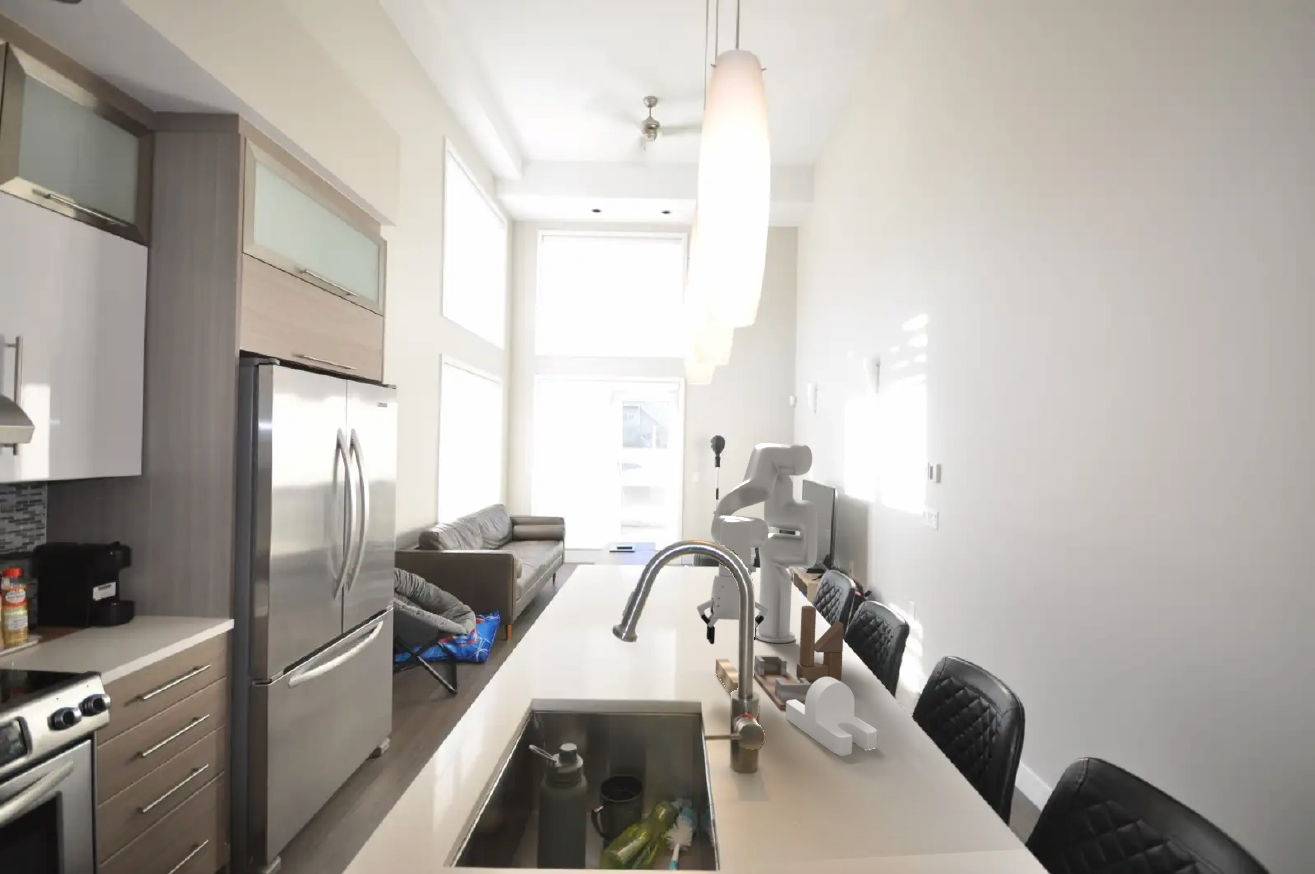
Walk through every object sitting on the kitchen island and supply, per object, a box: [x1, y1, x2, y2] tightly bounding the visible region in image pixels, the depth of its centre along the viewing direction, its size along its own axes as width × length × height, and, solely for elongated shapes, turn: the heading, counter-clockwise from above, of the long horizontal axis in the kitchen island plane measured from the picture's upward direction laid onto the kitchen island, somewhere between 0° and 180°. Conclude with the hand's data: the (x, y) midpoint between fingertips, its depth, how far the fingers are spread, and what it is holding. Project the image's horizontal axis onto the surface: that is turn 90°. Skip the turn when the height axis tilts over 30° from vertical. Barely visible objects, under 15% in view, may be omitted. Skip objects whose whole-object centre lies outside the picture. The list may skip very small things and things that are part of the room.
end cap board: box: [753, 654, 812, 710], centre depth 149 cm, size 24×9×4 cm, turn 8°
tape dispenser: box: [785, 677, 878, 756], centre depth 127 cm, size 10×18×11 cm, turn 23°
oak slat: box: [714, 658, 739, 695], centre depth 149 cm, size 16×3×4 cm, turn 9°
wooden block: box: [795, 605, 844, 682], centre depth 157 cm, size 4×11×18 cm, turn 102°
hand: (730, 643), depth 149 cm, fingers open, 9 cm apart
